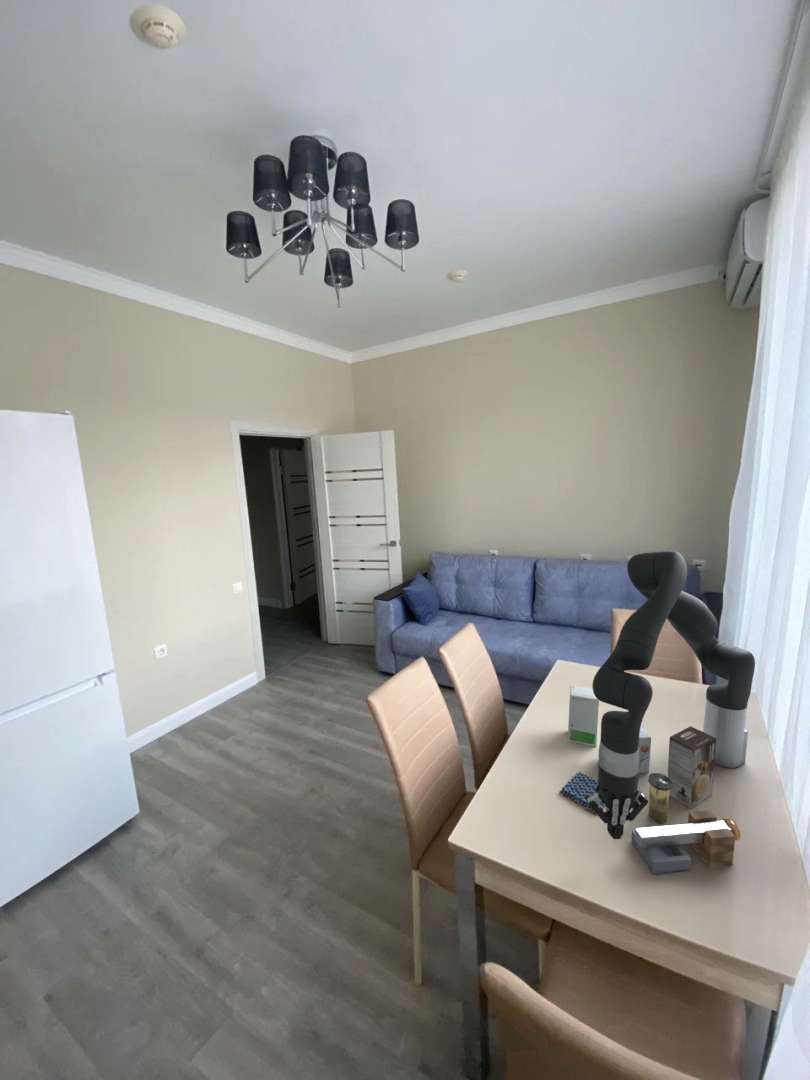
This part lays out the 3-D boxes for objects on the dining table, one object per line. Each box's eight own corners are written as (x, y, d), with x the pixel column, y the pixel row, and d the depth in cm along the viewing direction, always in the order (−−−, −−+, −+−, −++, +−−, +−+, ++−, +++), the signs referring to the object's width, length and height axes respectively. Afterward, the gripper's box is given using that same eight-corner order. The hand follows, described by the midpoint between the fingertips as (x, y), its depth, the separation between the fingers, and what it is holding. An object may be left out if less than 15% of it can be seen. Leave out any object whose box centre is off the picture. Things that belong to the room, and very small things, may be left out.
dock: (665, 838, 99) (666, 827, 99) (690, 871, 91) (691, 859, 91) (631, 842, 99) (631, 830, 98) (652, 874, 91) (653, 862, 90)
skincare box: (567, 742, 134) (568, 695, 131) (568, 729, 140) (569, 684, 137) (597, 747, 131) (599, 699, 128) (597, 734, 137) (598, 688, 134)
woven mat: (616, 795, 113) (617, 788, 113) (597, 818, 106) (597, 811, 106) (578, 775, 121) (578, 768, 120) (557, 795, 114) (557, 788, 114)
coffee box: (686, 779, 116) (690, 724, 114) (712, 795, 111) (717, 737, 108) (665, 793, 112) (669, 736, 109) (691, 809, 107) (695, 750, 104)
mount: (707, 837, 99) (710, 809, 98) (732, 865, 92) (735, 836, 91) (686, 839, 99) (688, 811, 98) (709, 867, 92) (712, 838, 91)
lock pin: (724, 829, 97) (726, 814, 96) (739, 845, 93) (741, 829, 92) (632, 838, 96) (633, 822, 95) (643, 854, 92) (644, 837, 92)
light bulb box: (611, 774, 120) (612, 739, 118) (600, 758, 126) (601, 724, 124) (650, 773, 120) (652, 737, 118) (637, 756, 126) (639, 722, 124)
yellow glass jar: (661, 808, 108) (663, 772, 106) (674, 824, 103) (676, 786, 101) (642, 810, 107) (644, 773, 106) (654, 826, 103) (656, 788, 101)
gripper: (639, 749, 94) (634, 819, 97) (578, 753, 94) (576, 824, 97) (660, 773, 87) (655, 848, 90) (595, 778, 86) (592, 854, 89)
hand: (614, 835), depth 93 cm, fingers closed
